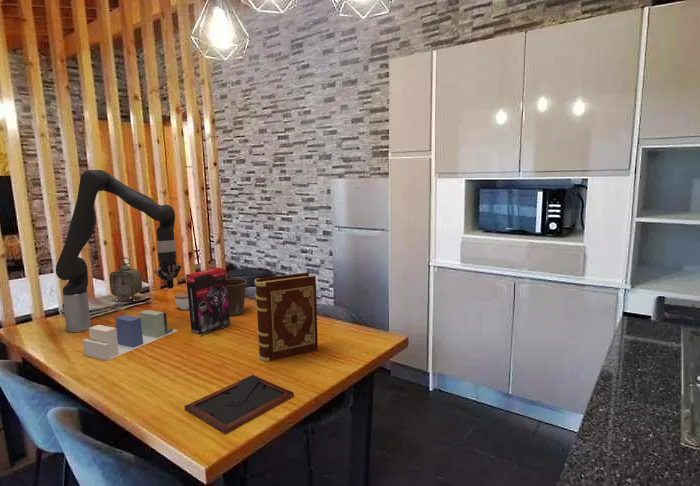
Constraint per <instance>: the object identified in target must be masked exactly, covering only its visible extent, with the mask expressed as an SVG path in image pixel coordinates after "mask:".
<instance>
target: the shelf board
mask: <svg viewBox="0 0 700 486" xmlns="http://www.w3.org/2000/svg"><path fill="white" fill-rule="evenodd" d="M172 329H173V331H170V332H168V333H165V335H164V336H161V337H159V338H155V337H150V336H145V335H142V336H143V344H141V345H139V346H136V347H134V348H133V347H128V346H124V345H119V344H118V350H119V354H118V355H116V356H114V357H111V358H110V354H109V345H108V344H107V343H102V342H97V341H93V340H90V339H88V338H84V339H82V348H83V352H84V353H83V354H84V356H85V357H86V356H87V357H90V358H95V359H99V360H103V361H109V360H112V359H114V358H116V357H119V356H121V355H124V354H125V353H129V352H130V351H133V350H135V349H138V348H140V347H142V346H145V345H147V344H151V343H152V342H154V341H157V340H160V339H161V338H165V337H166V336H169V335H171V334H173V333H176V332H178V331H179V330H178V329H174V328H172ZM117 341H118V338H117Z"/></svg>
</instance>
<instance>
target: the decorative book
mask: <svg viewBox="0 0 700 486" xmlns="http://www.w3.org/2000/svg"><path fill="white" fill-rule="evenodd" d="M316 278H317V277H316V275H312V276H310V272H301V273H300V272H299V273H291V274H285V275H278V276H270V277H268V276H267V277H262V278H261V277H260V278H256V279H254V285H255V299H256V305H255V309H256V315H257V317H256V318H257V329H256V333H257V335H258V336H257V337H258V339H257V345H258V355H257V356H258V359H259V360H261V361H263V362H269V361H274V360H279V359H284V358H288V357H292V356H297V355H301V354H307V353H311V352H315V351H316V352H317V351H318V347H319V346H318V345H319V343H318V341H319V340H318V311H317V309H318V308H317V306H318V305H317V280H316Z"/></svg>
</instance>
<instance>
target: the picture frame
mask: <svg viewBox="0 0 700 486" xmlns="http://www.w3.org/2000/svg"><path fill="white" fill-rule="evenodd" d="M294 397H295V394H294V391H291V390H289V389H286V388H284V387H282V386H280V385H277V384H275V383H273V382H271V381H268V380H265V379H264V378H261V377H259V376H257V375H255V374H251V375H250V376H247V377H245V378H242V379H240V380H238V381H236V382H234V383H232V384H228V386H225V387H223V388H221V389H218V390H216V391H214V392H212V393H209V394H208V395H205V396H203V397H201V398H199V399H196V400H195V401H192V402H190V403H188V404H185V405H184V410H185V411H186V412H188V413H189V414H191V415H193V416H194V417H196V418H197V419H199V420H201V421H203V422H204V423H205V424H207V425H209V426H211V427H212V428H214V429H216V430H217V431H219V432H220V433H222V434H224V435H227V434H228V433H230V432H232V431H233V430H236V429H237V428H239V427H241V426H243V425H244V424H246V423H248V422H250V421H252V420H254V419H255V418H258V417H259V416H260V415H263V414H264V413H266V412H268V411H269V410H271V409H273V408H275V407H277V406H278V405H280V404H282V403H284V402H285V401H288V400H289V399H291V398H294Z"/></svg>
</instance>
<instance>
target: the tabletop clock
mask: <svg viewBox="0 0 700 486" xmlns="http://www.w3.org/2000/svg"><path fill="white" fill-rule="evenodd" d="M122 259H124V260H125V259H126V260H128V263H126V262H125V261H124V262H121V260H122ZM118 263H119V264H120V265H121V266H120V269H118V270H115V271H112V272H110V274H109V286H110V291H111V294H112V295H113V296H115V297H117V298H118V297H119V298H120V297H122V298H123V297H130V296H131V297H132V298H133V297H134V298H135V295H136V294H139V293H141V292H142V290H143V278H142V273H141V270H138V269H135V268H131V267H130V266H129V264H131V260H130V258H129V257H124V256H123V257H120V258H119V259H118Z"/></svg>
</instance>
